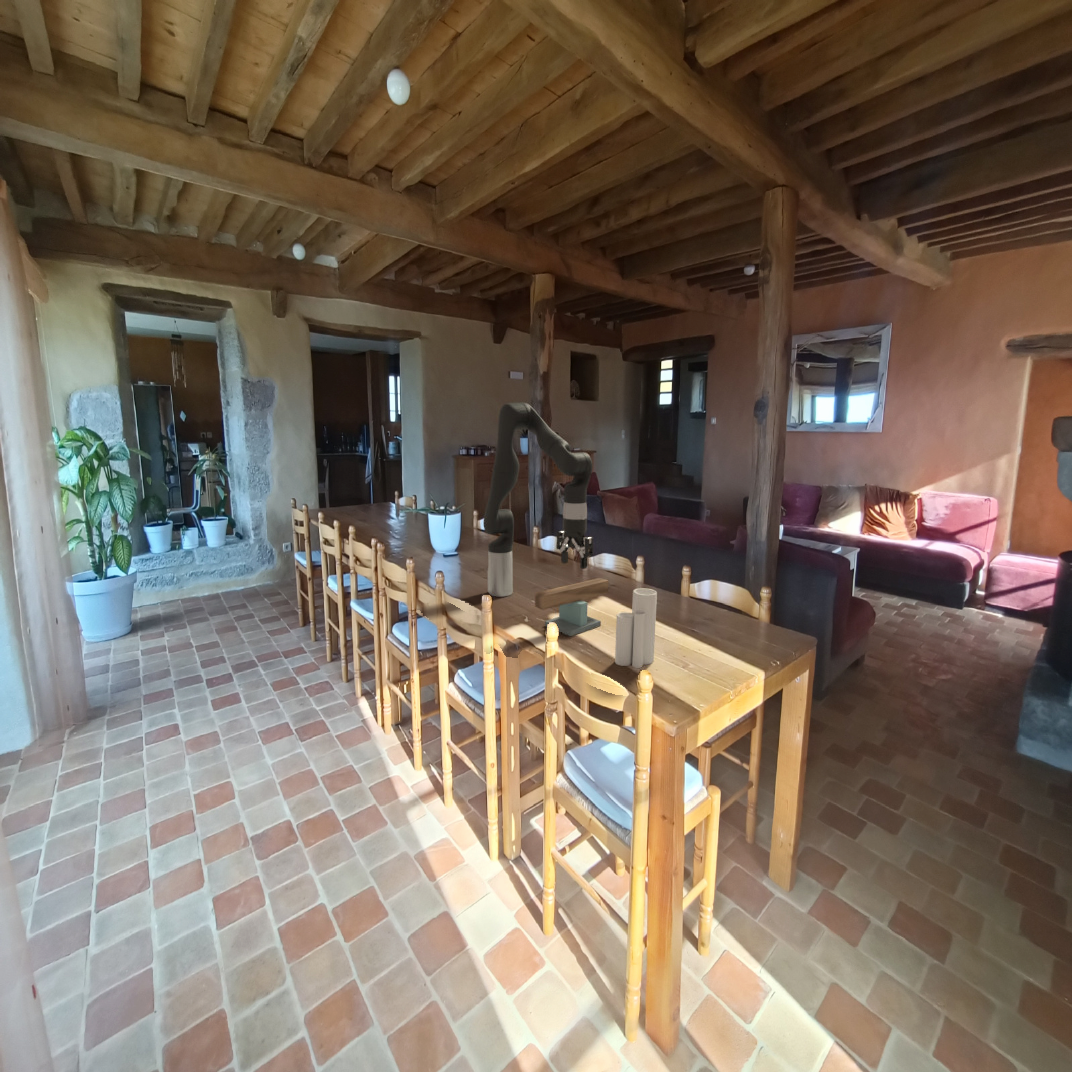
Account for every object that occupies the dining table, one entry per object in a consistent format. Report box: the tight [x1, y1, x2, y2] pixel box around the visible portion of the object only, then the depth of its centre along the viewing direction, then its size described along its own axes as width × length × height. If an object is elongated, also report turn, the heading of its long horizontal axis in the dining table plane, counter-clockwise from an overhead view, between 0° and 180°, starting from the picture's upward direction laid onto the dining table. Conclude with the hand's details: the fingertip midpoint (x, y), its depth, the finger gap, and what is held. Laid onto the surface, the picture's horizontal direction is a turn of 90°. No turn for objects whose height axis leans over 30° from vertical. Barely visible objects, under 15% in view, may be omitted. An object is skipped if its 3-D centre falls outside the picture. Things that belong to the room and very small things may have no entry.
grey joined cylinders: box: [614, 587, 658, 669], centre depth 150 cm, size 11×7×20 cm, turn 120°
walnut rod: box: [534, 577, 609, 611], centre depth 176 cm, size 4×28×4 cm, turn 127°
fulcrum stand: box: [544, 600, 602, 637], centre depth 177 cm, size 12×14×9 cm
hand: (573, 565), depth 174 cm, fingers open, 8 cm apart
